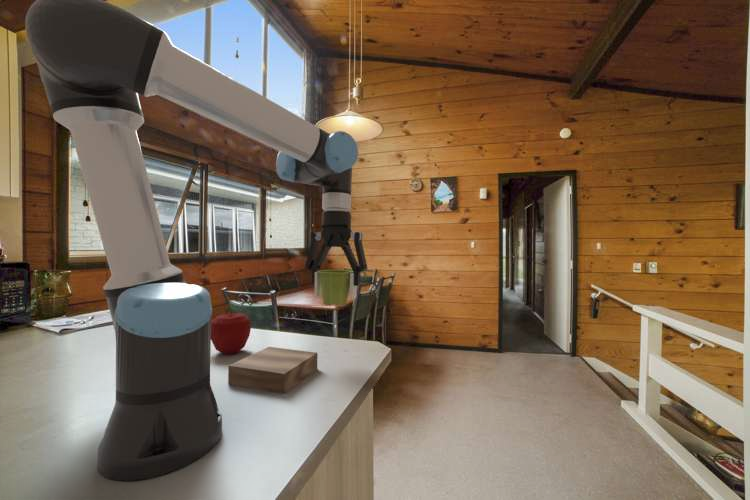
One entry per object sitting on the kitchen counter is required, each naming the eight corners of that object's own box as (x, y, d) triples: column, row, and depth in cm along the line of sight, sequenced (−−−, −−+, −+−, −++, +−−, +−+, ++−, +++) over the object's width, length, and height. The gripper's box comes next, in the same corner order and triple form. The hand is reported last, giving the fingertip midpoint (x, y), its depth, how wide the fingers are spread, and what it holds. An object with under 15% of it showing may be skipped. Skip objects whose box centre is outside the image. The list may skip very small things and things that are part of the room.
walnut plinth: (284, 393, 64) (284, 373, 64) (228, 384, 68) (228, 365, 68) (317, 368, 77) (317, 352, 77) (268, 362, 81) (268, 346, 81)
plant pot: (360, 304, 82) (361, 271, 82) (332, 308, 75) (333, 272, 75) (337, 300, 89) (337, 269, 89) (309, 303, 82) (310, 270, 82)
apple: (238, 344, 96) (238, 306, 96) (258, 351, 90) (259, 310, 90) (201, 353, 87) (201, 311, 87) (221, 362, 81) (221, 316, 81)
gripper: (381, 212, 82) (379, 297, 82) (306, 214, 89) (305, 293, 89) (372, 208, 75) (370, 302, 75) (292, 210, 82) (290, 296, 82)
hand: (335, 297), depth 82 cm, fingers closed on plant pot, 9 cm apart
